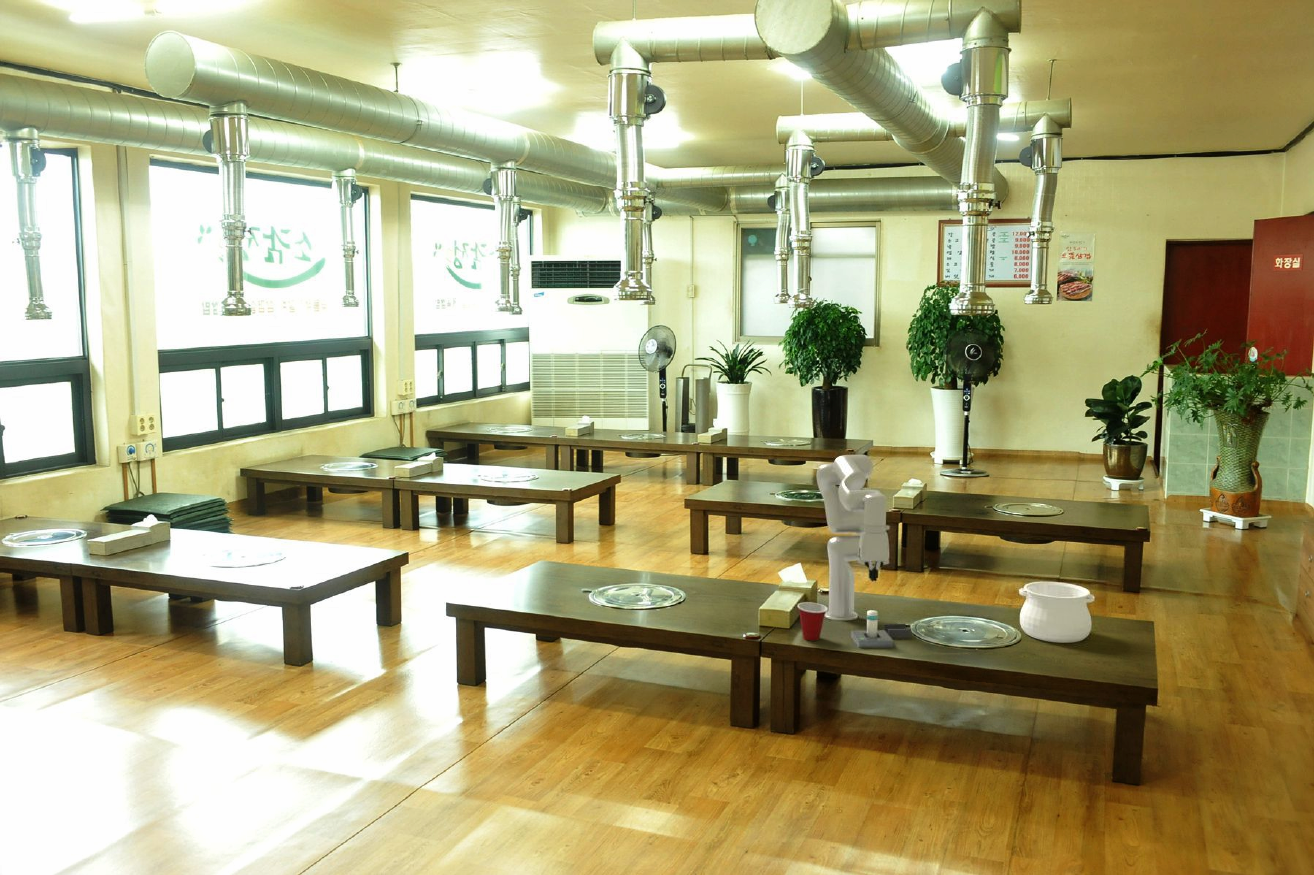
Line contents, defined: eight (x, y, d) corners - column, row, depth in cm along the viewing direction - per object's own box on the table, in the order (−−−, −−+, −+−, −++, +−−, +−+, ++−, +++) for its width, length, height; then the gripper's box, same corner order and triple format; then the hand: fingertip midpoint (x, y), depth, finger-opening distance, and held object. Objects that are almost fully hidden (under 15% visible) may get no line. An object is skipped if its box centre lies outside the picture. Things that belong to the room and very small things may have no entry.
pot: (1014, 639, 375) (1015, 593, 373) (1021, 621, 397) (1022, 578, 395) (1091, 649, 364) (1093, 601, 362) (1094, 629, 386) (1096, 585, 384)
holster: (882, 633, 382) (883, 623, 382) (904, 632, 383) (904, 623, 382) (888, 640, 375) (888, 630, 374) (910, 639, 375) (910, 630, 374)
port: (851, 638, 376) (851, 629, 376) (884, 638, 376) (884, 629, 376) (858, 649, 364) (858, 640, 364) (892, 648, 365) (893, 639, 364)
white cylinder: (865, 640, 372) (866, 610, 371) (875, 640, 372) (876, 610, 371) (867, 643, 368) (868, 613, 367) (878, 643, 368) (878, 613, 367)
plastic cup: (822, 644, 369) (823, 611, 368) (793, 640, 374) (793, 608, 373) (830, 636, 379) (831, 603, 378) (802, 632, 384) (802, 600, 382)
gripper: (893, 526, 370) (891, 577, 372) (851, 527, 369) (849, 577, 371) (898, 531, 362) (897, 582, 364) (855, 531, 362) (854, 583, 364)
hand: (873, 580), depth 368 cm, fingers closed
